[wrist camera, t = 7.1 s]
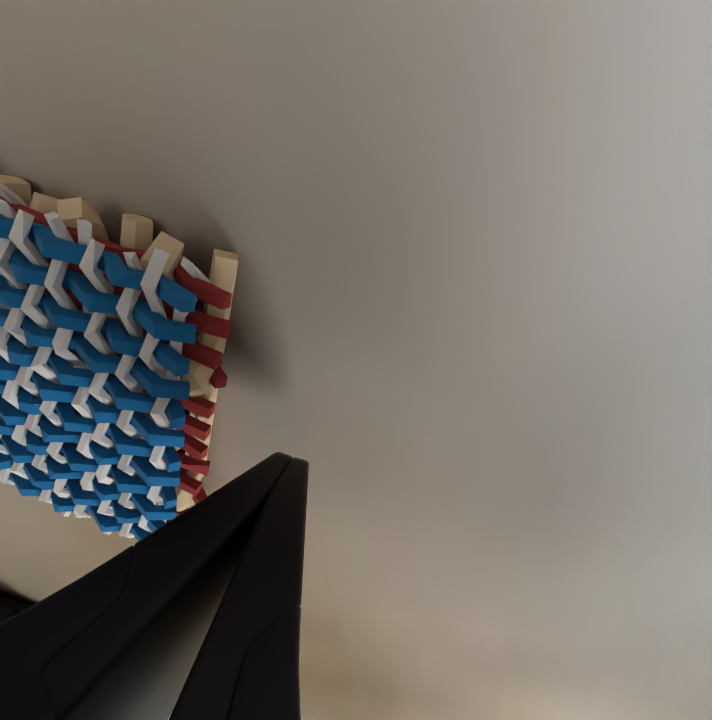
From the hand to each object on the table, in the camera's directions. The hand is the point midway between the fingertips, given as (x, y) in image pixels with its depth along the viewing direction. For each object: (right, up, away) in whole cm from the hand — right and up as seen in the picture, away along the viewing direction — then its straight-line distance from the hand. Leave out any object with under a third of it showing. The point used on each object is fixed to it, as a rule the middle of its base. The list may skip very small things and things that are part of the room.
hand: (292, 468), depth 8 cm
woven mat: (-7, +3, +2) cm, 8 cm away
